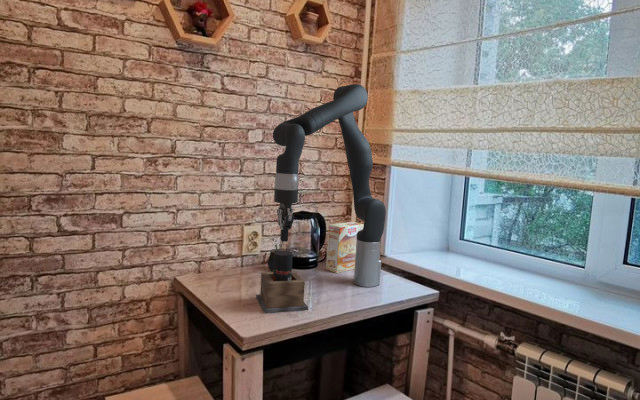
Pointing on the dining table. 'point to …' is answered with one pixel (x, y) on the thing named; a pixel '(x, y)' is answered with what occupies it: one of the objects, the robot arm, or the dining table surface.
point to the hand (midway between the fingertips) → (284, 240)
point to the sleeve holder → (281, 294)
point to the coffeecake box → (342, 246)
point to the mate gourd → (272, 258)
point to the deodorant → (282, 266)
